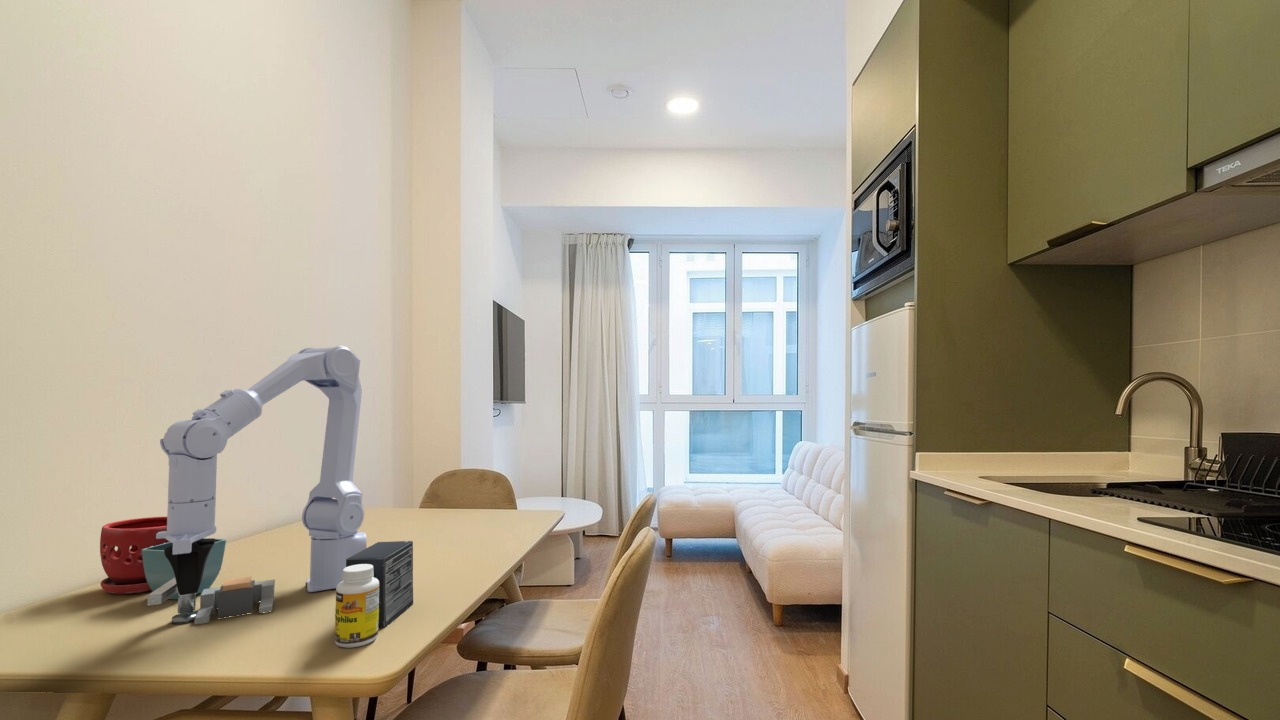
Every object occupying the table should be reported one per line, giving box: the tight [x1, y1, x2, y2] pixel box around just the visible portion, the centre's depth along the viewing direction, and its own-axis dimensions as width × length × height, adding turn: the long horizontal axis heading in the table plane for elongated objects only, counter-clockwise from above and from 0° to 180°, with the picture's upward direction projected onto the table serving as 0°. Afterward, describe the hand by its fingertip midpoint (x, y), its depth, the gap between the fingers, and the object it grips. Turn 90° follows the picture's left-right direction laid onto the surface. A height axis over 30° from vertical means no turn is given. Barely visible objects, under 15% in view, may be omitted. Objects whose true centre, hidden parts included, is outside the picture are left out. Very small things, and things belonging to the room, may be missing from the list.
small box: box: [346, 540, 414, 629], centre depth 93 cm, size 11×6×10 cm, turn 178°
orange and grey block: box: [217, 576, 256, 619], centre depth 95 cm, size 4×4×5 cm
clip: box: [147, 578, 197, 614], centre depth 87 cm, size 12×2×6 cm, turn 18°
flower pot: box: [142, 537, 227, 601], centre depth 103 cm, size 9×9×9 cm
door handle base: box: [171, 610, 199, 625], centre depth 91 cm, size 4×4×1 cm
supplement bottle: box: [334, 564, 379, 649], centre depth 83 cm, size 6×6×10 cm
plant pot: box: [99, 516, 170, 595], centre depth 109 cm, size 13×13×12 cm
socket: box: [194, 579, 276, 626], centre depth 96 cm, size 10×8×3 cm
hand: (189, 592), depth 87 cm, fingers closed
